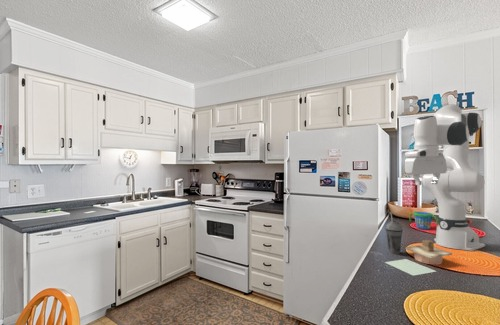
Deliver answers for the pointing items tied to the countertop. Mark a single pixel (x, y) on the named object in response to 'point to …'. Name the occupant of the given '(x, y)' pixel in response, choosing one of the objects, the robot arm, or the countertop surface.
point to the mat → (410, 267)
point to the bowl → (428, 259)
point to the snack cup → (423, 219)
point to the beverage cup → (394, 236)
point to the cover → (428, 250)
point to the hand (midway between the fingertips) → (426, 184)
